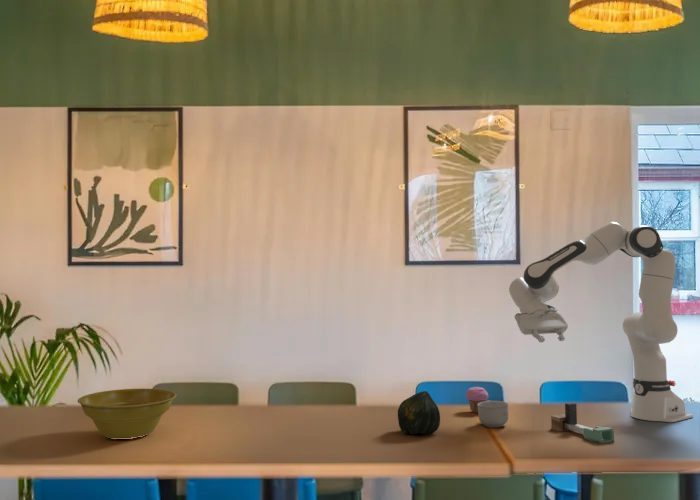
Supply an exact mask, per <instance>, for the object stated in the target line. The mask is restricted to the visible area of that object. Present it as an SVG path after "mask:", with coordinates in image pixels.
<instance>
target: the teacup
mask: <svg viewBox="0 0 700 500" xmlns="http://www.w3.org/2000/svg"><path fill="white" fill-rule="evenodd" d="M477 406H478V413H477V414H478V419H479V422H480V423H481V424H482V425H484V426H485V427H486V428H501V427H504V426H505V424H507V423H508V420H509V403H508V402H505V401H502V400H489V399H487V400H486V401H484V402H480V403H478V404H477Z"/></svg>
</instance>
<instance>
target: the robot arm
mask: <svg viewBox="0 0 700 500" xmlns="http://www.w3.org/2000/svg"><path fill="white" fill-rule="evenodd" d="M618 250H620V251H622V252H623V253H624V254H626V255H628V256H629V257H632V258H641V260H642V263H643V265H642V266H643V268H642V272H641V278H640V285H639V290H638V296H639V297H638V298H639V299H640V301H641V307H642V312H640V311H639V312H634V313H630V314H629V315H627V316H626V317H624V319H623V320H622V321H623V323H622V329H623V332H624V333H625V335H626V337H627V338H628V342H629V345H630V349H631V352H632V357H633V359H632V360H633V375H634V378H633V379H632V387H633V389H634V390H633V392H632V401H631V402H632V404H631V409H630V417H632V418H635V419H639V420H642V421H649V422H650V421H651V422H665V423H675V422H679V421H683V420H688V419H691V418H693V414H692V413H690V412H686V405H685V402H684V400H683V399H682V398H681V397H679V396H678V395H677V394H676V393H674V392H673V391H672V389H671V387H675V386H677V385H676V381H675V380H668V378H667V377H668V375H667V359H666V356H665V355H664V353H663V352H662V350H661V348H660V345H661V344H667V343H670V342H673V341H674V340H675V339H676V338H677V335H678V325H677V323H676V322H675V320H674V317H673V312H672V305H671V304H672V302H671V301H672V292H673V286H674V280H675V274H676V257H675V255H674V253H673V252H672V251H670V250H668V249H667V248H664V245H663V242H662V239H661V236H660V234H659V231H657V229H655V228H654V227H652V226H648V225H638V226H637V227H634V228H632V229H626V228H624V226H623V225H621V224H620V223H618V222H616V221H610V222H607V223H604V225H602V226H600V227H598V228H596V229H595V230H593V231H591V233H589V234H587V236H585V237H583V238H582V239H580V240H576V241H575V240H574V241H572V242H571V243H569V244H566V245H565V246H563V247H562V248H560V249H558V250H556V251H554V252H553V253H552V254H550V255H548V256H546V257H545V258H543V259H540V260H538V261H534V262H531V263H530V264H528V266H527V267H526V268H525V269H524V272H523V277H516V278H515V279H513V281H511V283H510V285H509V287H508V290H509V291H508V292H509V295H510V296H511V299H512V301H513V302H514V304H515V306H516V307H517V308H519V313H515V314H514V319H515V321H516V323H517V326H518V329H519V331H520V333H522V334H523V335H525V336H527V335H529V336H532V337H533V338H535V339H536V340H537V341H538V342H539V343H544V342H545V340H546V339H545V337H544V335H545V334H556V335H557V336H558V337H557V339H558V340H559V342H564V341H565V339H566V337H565V336H564V333H565V332H566V331H567V329H568V326H569V325H568V323H567V321H566V319H565V318H564V317H563V315H562V314H561V313H560V312H558V308H557V307H556V306H554V305H549V304H547V303H546V302H548V301H550V300H552V299H554V298H555V297H556V296H558V293H559V291H560V290H559V287H560V286H559V284H558V282H557V280H556V278H555V277H554V273H555V272H557V271H558V270H560V269H562V268H564V267H565V266H567V265H568V264H570V263H573V262H574V261H576V262H581V263H583V264H585V265H586V264H587V265H591V266H592V265H593V266H594V265H597V264H600V263H601V262H603V261H605V260H606V259H607V258H608V257H610V256H611V255H612V254H614V253H615V252H616V251H618Z"/></svg>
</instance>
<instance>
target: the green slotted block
mask: <svg viewBox="0 0 700 500" xmlns="http://www.w3.org/2000/svg"><path fill="white" fill-rule="evenodd" d="M589 428H590V427H589ZM589 428H584V434H583V439H584V440H588V441H591V442H594V443H597V444H606V443H607V444H608V443H613V442H615V430H614V429H613V428H611V427H608V426H605V427H602V426H598V425H597V426H595V428H593V430H592V429H589Z"/></svg>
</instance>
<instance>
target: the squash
mask: <svg viewBox="0 0 700 500" xmlns="http://www.w3.org/2000/svg"><path fill="white" fill-rule="evenodd" d="M440 413H441V412H440V409H439V406H438V405H437V403H436V402H435V401H434V398H432V396H431V394H430V393H429V392H428V391H427V390H426V391H420V392H417V393H415V394H413V395H410V397H408V398H406V399H404V400H403V401H402V402H401V403H400V405H399V407H398V409H397V420H398V426H399V429H400V431H402V433H404V434H406V435H412V436H413V435H417V434H428V433H430V434H434V433H435V432H437V431H438V429H439V427H440V424H441V414H440Z"/></svg>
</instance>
